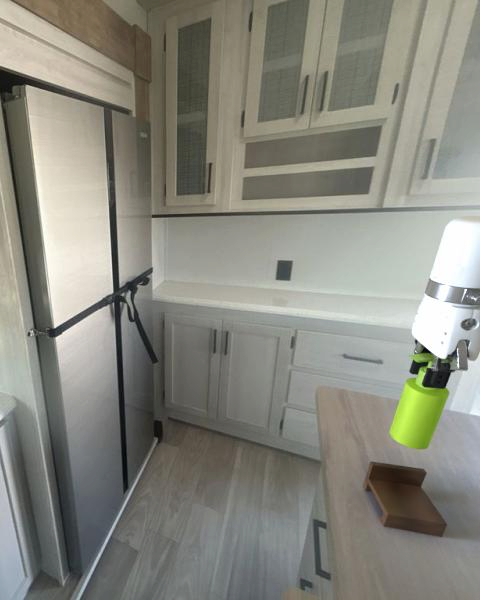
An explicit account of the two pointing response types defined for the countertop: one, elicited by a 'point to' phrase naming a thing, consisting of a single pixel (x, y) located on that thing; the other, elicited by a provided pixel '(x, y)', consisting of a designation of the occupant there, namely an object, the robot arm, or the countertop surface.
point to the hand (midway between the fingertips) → (426, 379)
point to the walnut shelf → (403, 498)
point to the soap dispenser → (418, 409)
